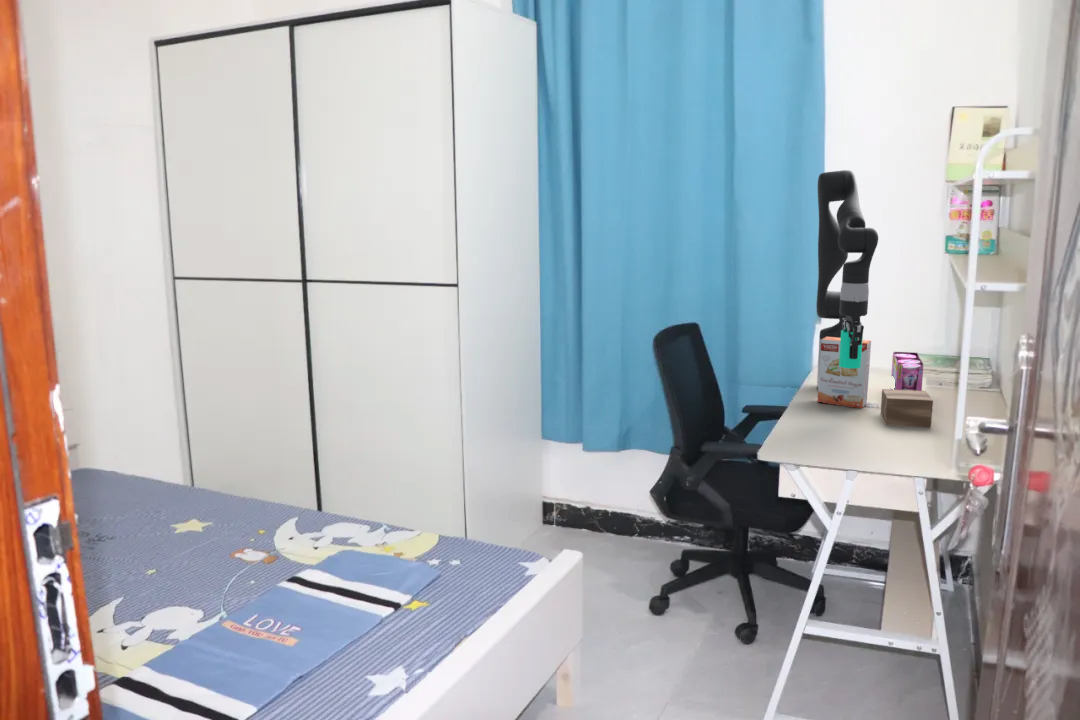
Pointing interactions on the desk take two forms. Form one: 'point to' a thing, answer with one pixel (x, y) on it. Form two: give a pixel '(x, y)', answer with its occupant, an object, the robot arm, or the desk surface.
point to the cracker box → (842, 376)
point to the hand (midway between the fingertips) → (850, 356)
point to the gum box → (907, 371)
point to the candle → (844, 352)
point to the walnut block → (906, 408)
